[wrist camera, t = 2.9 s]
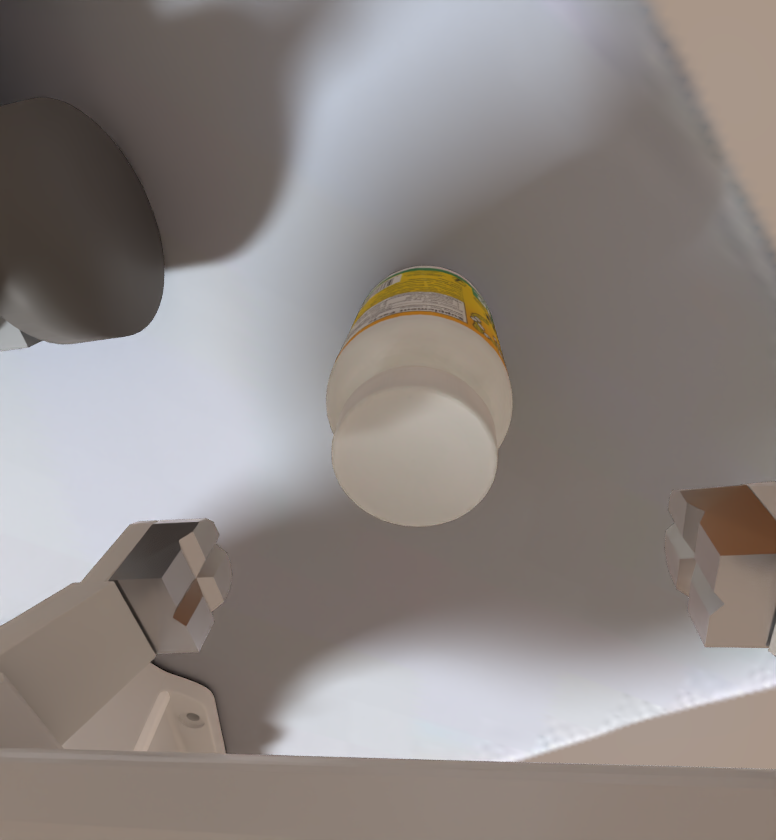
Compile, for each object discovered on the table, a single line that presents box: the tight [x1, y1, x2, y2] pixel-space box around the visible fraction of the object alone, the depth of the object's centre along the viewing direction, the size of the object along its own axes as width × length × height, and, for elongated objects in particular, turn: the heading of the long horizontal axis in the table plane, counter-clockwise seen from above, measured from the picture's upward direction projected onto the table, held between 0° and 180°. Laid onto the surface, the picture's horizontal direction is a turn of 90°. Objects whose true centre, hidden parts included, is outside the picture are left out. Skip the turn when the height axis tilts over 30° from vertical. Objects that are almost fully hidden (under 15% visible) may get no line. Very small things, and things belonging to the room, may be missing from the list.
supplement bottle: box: [326, 266, 513, 527], centre depth 16 cm, size 5×5×10 cm
